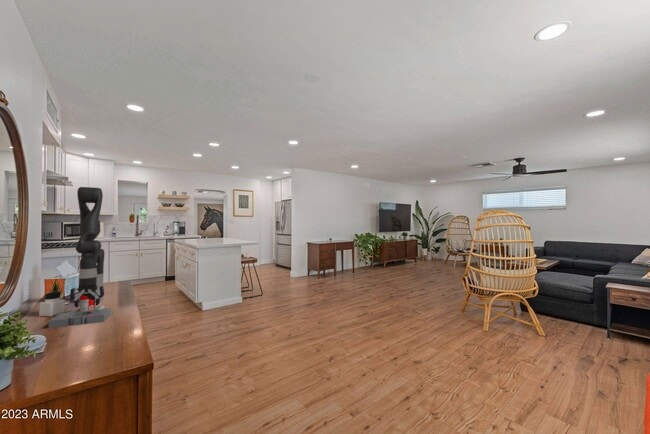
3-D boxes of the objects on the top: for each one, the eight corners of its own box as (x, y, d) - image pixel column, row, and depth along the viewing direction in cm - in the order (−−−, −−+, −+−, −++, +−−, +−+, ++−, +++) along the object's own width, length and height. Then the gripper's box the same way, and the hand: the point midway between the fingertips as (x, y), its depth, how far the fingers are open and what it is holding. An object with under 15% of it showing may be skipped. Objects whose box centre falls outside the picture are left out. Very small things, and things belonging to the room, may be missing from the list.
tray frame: (77, 311, 153) (77, 308, 153) (104, 309, 158) (104, 305, 158) (68, 318, 142) (68, 314, 142) (97, 315, 147) (97, 311, 147)
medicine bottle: (64, 312, 152) (65, 290, 153) (50, 316, 145) (51, 294, 146) (53, 311, 153) (54, 290, 153) (38, 316, 146) (39, 293, 146)
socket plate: (48, 328, 129) (48, 320, 129) (60, 320, 140) (60, 313, 140) (103, 321, 138) (104, 314, 138) (110, 314, 149) (110, 308, 149)
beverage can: (97, 312, 152) (98, 290, 153) (84, 316, 146) (85, 293, 147) (89, 311, 154) (89, 290, 154) (76, 315, 148) (77, 292, 148)
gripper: (106, 274, 157) (105, 302, 157) (74, 276, 151) (73, 306, 150) (102, 276, 150) (101, 306, 150) (68, 278, 144) (67, 309, 144)
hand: (87, 306), depth 150 cm, fingers open, 8 cm apart
